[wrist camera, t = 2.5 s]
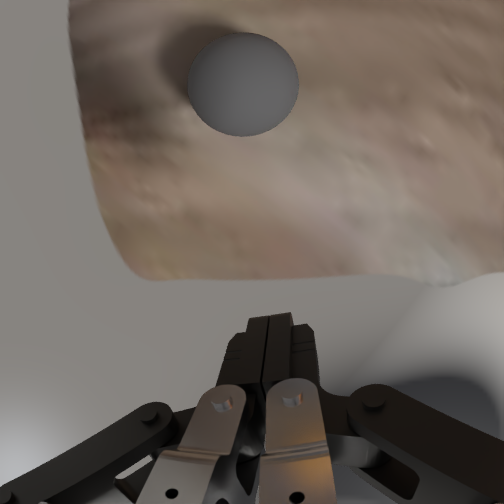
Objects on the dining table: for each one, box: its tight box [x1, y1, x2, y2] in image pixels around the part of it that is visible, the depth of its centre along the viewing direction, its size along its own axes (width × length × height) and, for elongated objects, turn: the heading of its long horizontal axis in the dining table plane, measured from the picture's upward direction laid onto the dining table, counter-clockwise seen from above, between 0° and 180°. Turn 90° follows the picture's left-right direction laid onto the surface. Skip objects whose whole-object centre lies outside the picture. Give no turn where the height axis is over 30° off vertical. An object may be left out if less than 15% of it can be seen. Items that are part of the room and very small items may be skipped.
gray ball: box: [187, 33, 299, 137], centre depth 16 cm, size 6×6×6 cm
